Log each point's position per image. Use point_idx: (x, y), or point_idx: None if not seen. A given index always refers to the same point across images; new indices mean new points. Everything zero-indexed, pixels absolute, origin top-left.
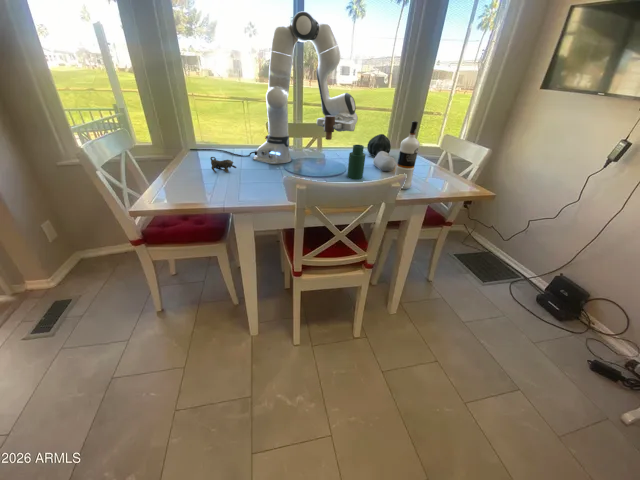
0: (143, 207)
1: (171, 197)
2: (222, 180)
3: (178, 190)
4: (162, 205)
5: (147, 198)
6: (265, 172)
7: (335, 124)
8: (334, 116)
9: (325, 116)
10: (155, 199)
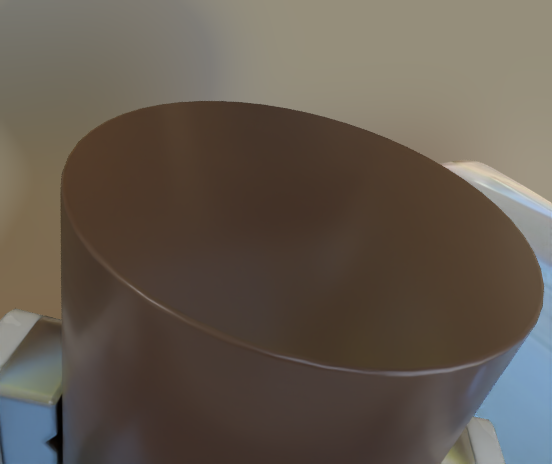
0: (482, 167)
1: (499, 197)
2: (545, 298)
3: (536, 224)
4: (467, 174)
5: (527, 190)
6: (534, 442)
7: (26, 379)
8: (96, 157)
9: (400, 154)
10: (510, 189)
